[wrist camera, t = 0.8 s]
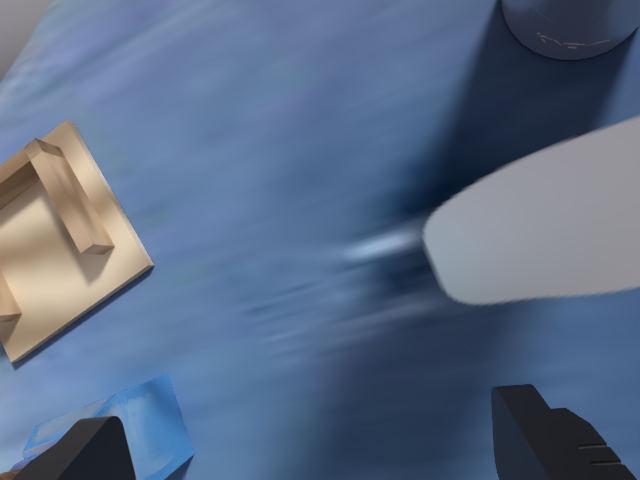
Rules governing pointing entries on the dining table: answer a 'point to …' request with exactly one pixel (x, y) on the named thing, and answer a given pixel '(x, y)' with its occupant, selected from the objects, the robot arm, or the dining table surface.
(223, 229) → the dining table surface
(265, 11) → the dining table surface
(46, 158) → the u cradle
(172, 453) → the perfume bottle
